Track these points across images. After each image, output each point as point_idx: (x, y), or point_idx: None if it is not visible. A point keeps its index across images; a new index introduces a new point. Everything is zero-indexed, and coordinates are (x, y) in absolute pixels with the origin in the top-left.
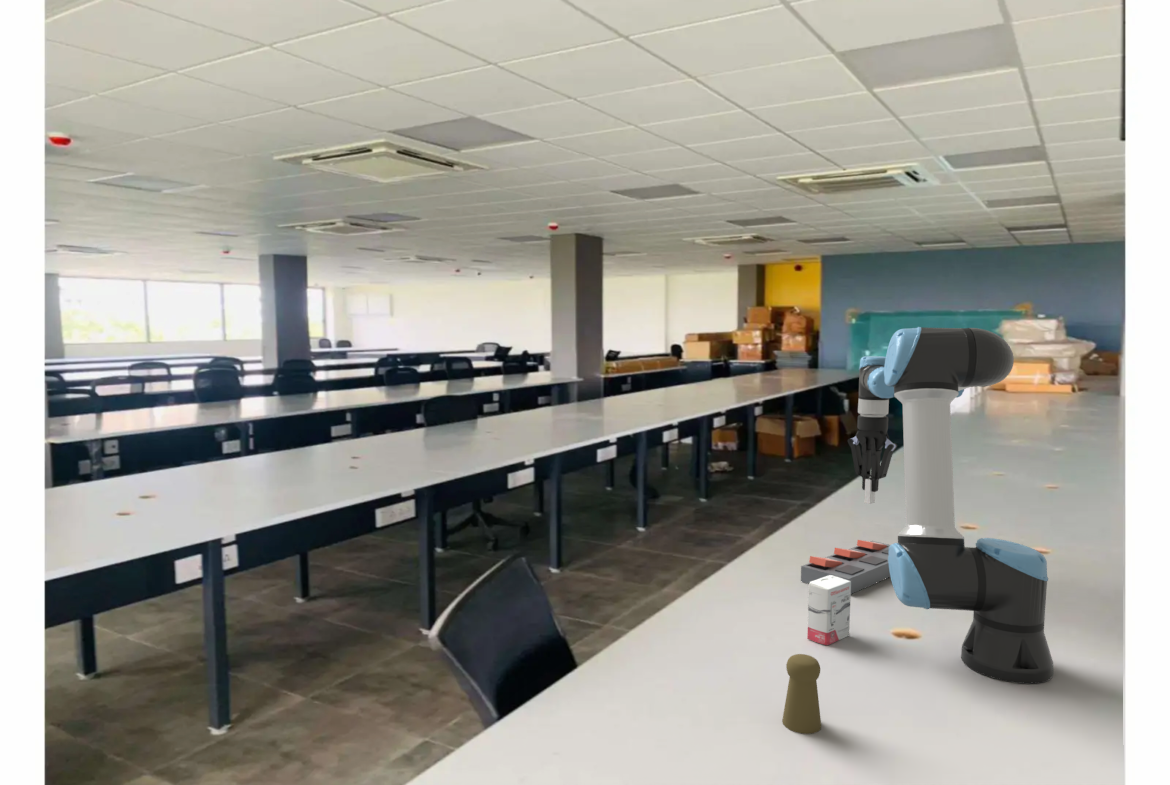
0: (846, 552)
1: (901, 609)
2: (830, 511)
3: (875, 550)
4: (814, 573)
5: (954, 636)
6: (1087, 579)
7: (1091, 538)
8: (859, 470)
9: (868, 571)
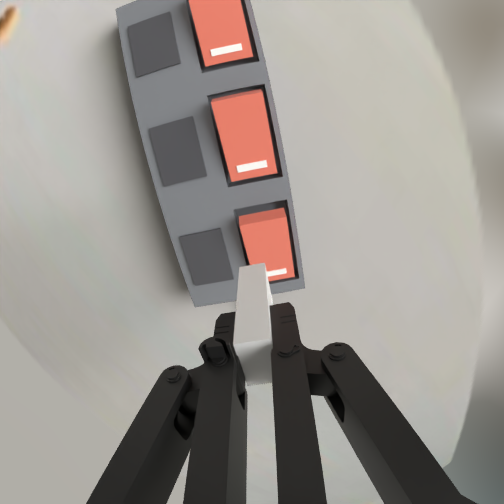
0: (222, 98)
1: (45, 67)
2: (460, 376)
3: None
4: None
5: None
6: (85, 394)
7: None
8: (328, 371)
9: (129, 82)
